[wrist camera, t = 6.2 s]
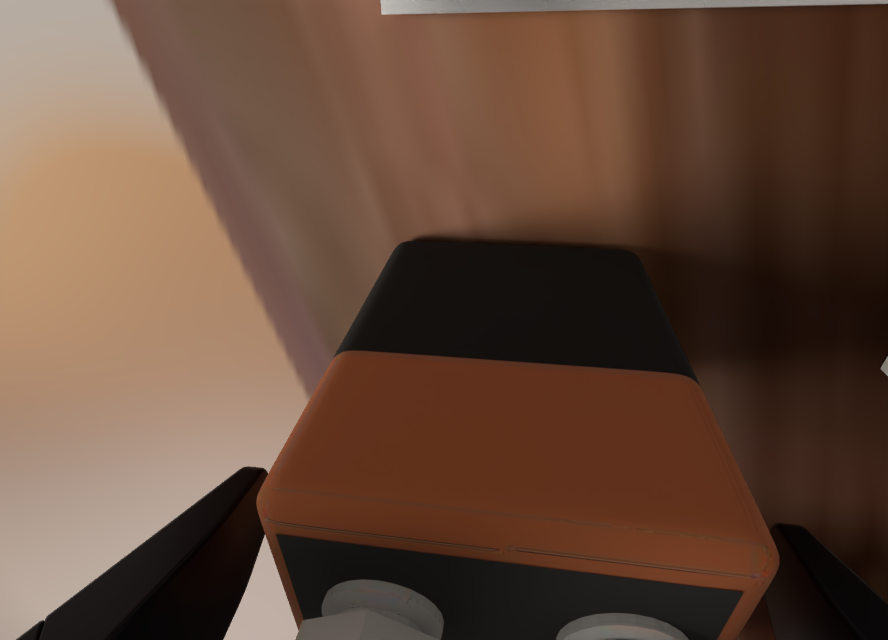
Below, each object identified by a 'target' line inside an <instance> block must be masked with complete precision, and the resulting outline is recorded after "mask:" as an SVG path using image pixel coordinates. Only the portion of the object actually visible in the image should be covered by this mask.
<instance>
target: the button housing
mask: <svg viewBox="0 0 888 640" xmlns="http://www.w3.org/2000/svg"><path fill="white" fill-rule="evenodd" d="M880 369H881V370H882V371H883V372H884V373H885V374H886V375H887V376H888V356H887V358H886V360H885V361H884V363H883V365H882V367H881V368H880Z"/></svg>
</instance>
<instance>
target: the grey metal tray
mask: <svg viewBox="0 0 888 640" xmlns="http://www.w3.org/2000/svg"><path fill="white" fill-rule="evenodd" d="M869 4H888V0H381V11H382V14H385V15H403V14H449V13H496V12H543V11H589V10H636V9H683V8H729V7H776V6H823V5H869Z"/></svg>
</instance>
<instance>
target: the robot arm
mask: <svg viewBox="0 0 888 640" xmlns="http://www.w3.org/2000/svg"><path fill="white" fill-rule="evenodd" d="M267 475H268V473H267V471H266V470H265V469H264V468H258V467H243V468H241V469H240V470H238V471H237V472H236V473H234V474H233V475H232V476H230V477H229V478H228V479H226V480H225V481H224V482H222V483H221V484H220V485H219V486H217V487H216V488H215V489H213V490H212V491H211V492H210V493H208V494H207V495H205V496H204V497H203V498H201V499H200V500H199V501H198V502H196V503H195V504H194V505H192V506H191V507H190V508H188V509H187V510H186V511H185V512H183V513H182V514H180V515H179V516H178V517H177V518H175V519H174V520H173V521H171V522H170V523H169V524H167V525H166V526H165V527H164V528H162V529H161V530H159V531H158V532H157V533H156V534H154V535H153V536H152V537H150V538H149V539H148V540H146V541H145V542H144V543H142V544H141V545H140V546H139V547H137V548H136V549H135V550H133V551H132V552H131V553H130V554H128V555H127V556H125V557H124V558H123V559H121V560H120V561H119V562H117V563H116V564H115V565H114V566H112V567H111V568H110V569H108V570H107V571H106V572H105V573H103V574H102V575H100V576H99V577H98V578H97V579H95V580H94V581H92V582H91V583H90V584H89V585H87V586H86V587H85V588H84V589H82V590H81V591H79V592H78V593H77V594H76V595H74V596H73V597H72V598H70V599H69V600H68V601H66V602H65V603H64V604H62V605H61V606H60V607H59V608H57V609H56V610H54V611H53V612H52V613H51V614H49V615H48V616H47V617H46V619H45V621H44V620H42V621H40V622H38V623H37V624H36V625H35V626H33V627H32V628H31V629H29V630H28V631H27V632H25V633H24V634H23V635H21V636H20V637H19V638H17V639H16V640H223V639H224V637H225V635H226V632H227V630H228V628H229V626H230V623H231V621H232V619H233V617H234V615H235V613H236V610H237V608H238V606H239V604H240V602H241V599H242V597H243V594H244V592H245V590H246V587H247V584H248V582H249V579H250V576H251V574H252V570H253V568H254V565H255V562H256V559H257V556H258V553H259V550H260V547H261V544H262V541H263V538H264V535H265V532H264V529H263V526H262V523H261V520H260V517H259V514H258V510H257V503H256V502H257V496H258V493H259V491H260V489H261V487H262V485H263V483H264V481H265V479H266V477H267ZM769 532H770V534H771V536H772V539H773V541H774V543H775V545H776V548H777V551H778V554H779V567H778V570H777V572H776V574H775V576H774V578H773V580H772V581H771V583H770V585H769V587H768V588H767V590H766V591H765V593H764V595H765V599H766V603H767V607H768V611H769V615H770V619H771V623H772V627H773V631H774V635H775V639H776V640H888V603H887V602H886V601H885V600H884V599H883V598H882V597H880V596H879V595H878V594H877V593H876V592H875V591H874V590H873V589H872V588H871V587H869V586H868V585H867V584H866V583H865V582H864V581H863V580H862V579H861V578H860V577H859V576H857V575H856V574H855V573H854V572H853V571H852V570H851V569H850V568H849V567H848V566H846V565H845V564H844V563H843V562H842V561H841V560H840V559H839V558H838V557H837V556H836V555H834V554H833V553H832V552H831V551H830V550H829V549H828V548H827V547H826V546H825V545H823V544H822V543H821V542H820V541H819V540H818V539H817V538H816V537H815V536H814V535H813V534H811V533H810V532H809V531H808V530H807V529H805V528H804V527H802V526H799V525H793V524H784V523H775V524H773V525H772V526H771V527H770V529H769Z"/></svg>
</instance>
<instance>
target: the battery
mask: <svg viewBox="0 0 888 640" xmlns="http://www.w3.org/2000/svg"><path fill="white" fill-rule="evenodd" d="M256 503H257V510H258V514H259V517H260V520H261V523H262V526H263V529H264V532H265V535H266V537H267V540H268V543H269V546H270V549H271V552H272V555H273V558H274V561H275V564H276V566H277V569H278V572H279V575H280V578H281V581H282V584H283V587H284V590H285V592H286V595H287V598H288V601H289V604H290V607H291V610H292V613H293V616H294V618H295V621H296V624H297V627H298V630H299V632H298V635H297V637H296V640H736V639H737V637H738V635H739V634H740V632H741V631H742V629H743V627H744V626H745V624H746V622H747V621H748V619H749V618H750V616H751V614H752V613H753V611H754V609H755V608H756V606H757V604H758V603H759V601H760V600H761V598H762V596H763V595H764V593H765V591H766V590H767V588H768V587H769V585H770V583H771V581H772V580H773V578H774V576H775V574H776V572H777V570H778V567H779V554H778V551H777V548H776V545H775V543H774V541H773V539H772V536H771V534H770V532H769V530H768V528H767V526H766V523H765V521H764V519H763V517H762V515H761V513H760V511H759V509H758V507H757V505H756V502H755V500H754V498H753V496H752V494H751V492H750V490H749V488H748V486H747V483H746V481H745V479H744V477H743V475H742V473H741V471H740V469H739V467H738V465H737V462H736V460H735V458H734V456H733V454H732V452H731V450H730V448H729V446H728V443H727V441H726V439H725V437H724V435H723V433H722V431H721V429H720V427H719V424H718V422H717V420H716V418H715V416H714V414H713V412H712V410H711V408H710V406H709V403H708V401H707V399H706V397H705V395H704V393H703V391H702V389H701V387H700V384H699V382H698V380H697V378H696V376H695V374H694V372H693V370H692V368H691V366H690V363H689V361H688V359H687V357H686V355H685V353H684V351H683V349H682V347H681V344H680V342H679V340H678V338H677V336H676V334H675V332H674V330H673V328H672V325H671V323H670V321H669V319H668V317H667V315H666V313H665V311H664V309H663V307H662V304H661V302H660V300H659V298H658V296H657V294H656V292H655V290H654V288H653V285H652V283H651V281H650V279H649V277H648V275H647V273H646V271H645V269H644V267H643V265H642V263H641V261H640V259H639V258H638V257H637V256H636V255H635V254H634V253H632V252H630V251H626V250H618V249H600V248H576V247H551V246H527V245H503V244H478V243H454V242H429V241H406V242H403V243H401V244H399V245H398V246H397V247H396V248H395V250H394V251H393V253H392V255H391V256H390V258H389V260H388V261H387V263H386V265H385V267H384V269H383V270H382V272H381V274H380V276H379V278H378V279H377V281H376V283H375V285H374V286H373V288H372V290H371V292H370V294H369V295H368V297H367V299H366V301H365V302H364V304H363V306H362V308H361V310H360V311H359V313H358V315H357V317H356V319H355V320H354V322H353V324H352V326H351V327H350V329H349V331H348V333H347V335H346V336H345V338H344V340H343V342H342V343H341V345H340V347H339V349H338V351H337V352H336V354H335V356H334V358H333V360H332V361H331V363H330V365H329V367H328V368H327V370H326V372H325V374H324V376H323V377H322V379H321V381H320V383H319V384H318V386H317V388H316V390H315V392H314V393H313V395H312V397H311V399H310V401H309V402H308V404H307V406H306V408H305V409H304V411H303V413H302V415H301V417H300V418H299V420H298V422H297V424H296V425H295V427H294V429H293V431H292V433H291V434H290V436H289V438H288V440H287V442H286V443H285V445H284V447H283V449H282V450H281V452H280V454H279V456H278V458H277V460H276V461H275V463H274V465H273V466H272V468H271V470H270V472H269V474H268V475H267V477H266V479H265V481H264V483H263V485H262V487H261V489H260V491H259V493H258V496H257V502H256Z"/></svg>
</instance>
